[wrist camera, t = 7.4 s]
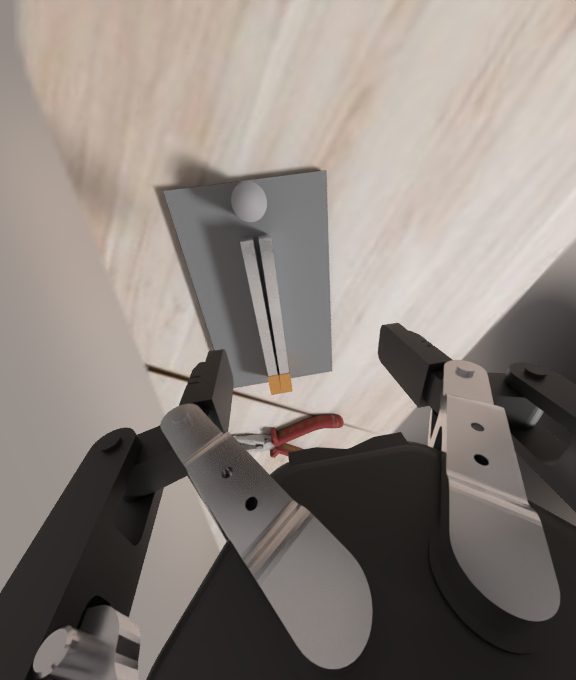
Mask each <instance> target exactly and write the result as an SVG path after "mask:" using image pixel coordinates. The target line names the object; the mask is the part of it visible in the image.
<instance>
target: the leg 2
mask: <svg viewBox="0 0 576 680" xmlns="http://www.w3.org/2000/svg"><path fill="white" fill-rule="evenodd" d="M258 238H259V244H260V251H261V257H262V264H263V270H264V276H265V283H266V289H267V296H268V302H269V308H270V315H271V321H272V328H273V334H274V340H275V347H276V353H277V364H278V371H279V377H280V384H281V390H282V393H285V392H291V391H292V385H291V377H290V371H289V366H288V360H287V353H286V345H285V338H284V330H283V322H282V315H281V307H280V299H279V292H278V284H277V277H276V269H275V261H274V254H273V246H272V238H271V236H270V235H261V236H258Z"/></svg>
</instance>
